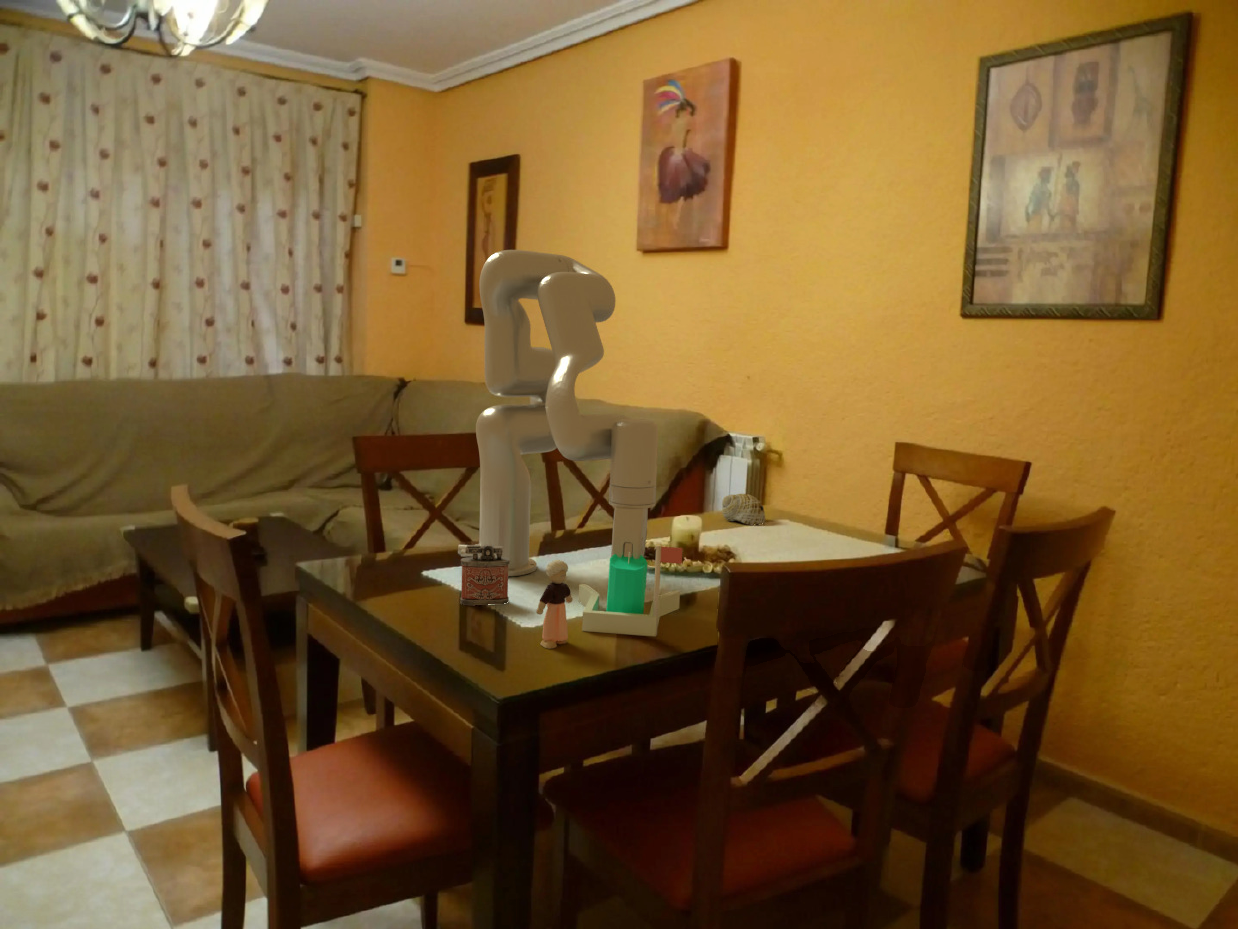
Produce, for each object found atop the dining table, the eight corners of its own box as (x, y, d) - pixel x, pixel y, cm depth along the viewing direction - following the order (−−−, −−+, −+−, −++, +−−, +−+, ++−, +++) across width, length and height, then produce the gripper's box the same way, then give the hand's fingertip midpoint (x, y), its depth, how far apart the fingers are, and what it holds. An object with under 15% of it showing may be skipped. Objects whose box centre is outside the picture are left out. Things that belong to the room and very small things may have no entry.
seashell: (774, 522, 226) (761, 487, 223) (742, 540, 224) (728, 506, 221) (755, 512, 235) (742, 478, 232) (724, 529, 233) (711, 496, 230)
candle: (639, 630, 142) (645, 564, 137) (602, 624, 143) (606, 558, 138) (645, 610, 148) (651, 545, 143) (609, 604, 149) (614, 540, 144)
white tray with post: (563, 629, 140) (566, 541, 138) (579, 600, 156) (582, 520, 154) (677, 638, 139) (682, 549, 137) (682, 608, 154) (686, 527, 152)
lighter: (508, 599, 155) (509, 542, 154) (509, 605, 152) (510, 547, 150) (460, 599, 154) (461, 542, 152) (460, 605, 150) (461, 547, 149)
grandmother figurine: (554, 652, 130) (557, 567, 128) (531, 648, 132) (533, 563, 130) (578, 637, 137) (581, 555, 135) (556, 633, 139) (558, 552, 137)
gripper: (614, 487, 154) (610, 591, 157) (604, 502, 139) (600, 617, 142) (658, 489, 153) (653, 594, 156) (652, 505, 139) (647, 620, 141)
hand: (628, 605), depth 149 cm, fingers closed
